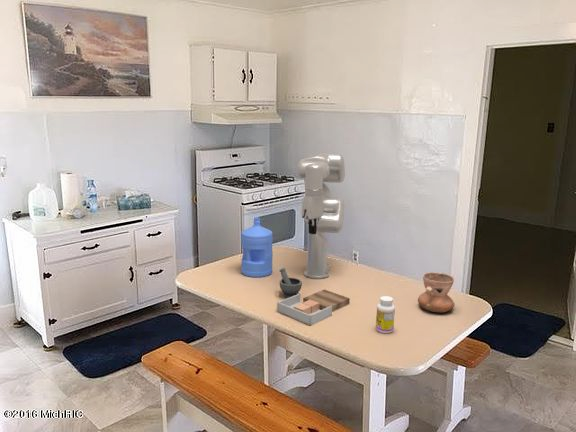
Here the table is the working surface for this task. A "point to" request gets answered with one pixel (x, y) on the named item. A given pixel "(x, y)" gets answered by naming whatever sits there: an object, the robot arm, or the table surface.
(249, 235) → the water jug
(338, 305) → the board
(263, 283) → the table surface
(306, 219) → the robot arm
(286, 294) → the mortar and pestle
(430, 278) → the ceramic jug
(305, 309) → the tile
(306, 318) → the tray
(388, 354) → the table surface
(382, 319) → the supplement bottle
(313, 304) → the tile
